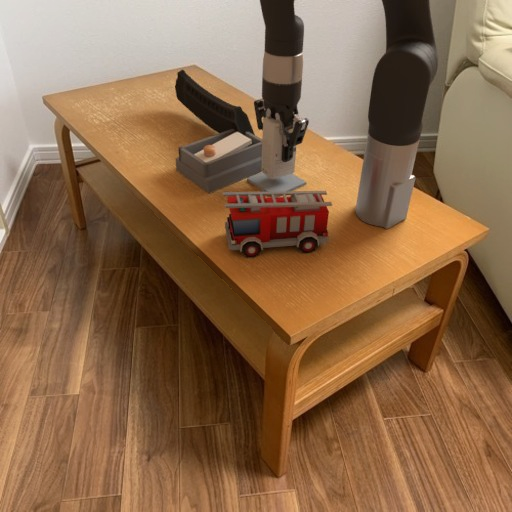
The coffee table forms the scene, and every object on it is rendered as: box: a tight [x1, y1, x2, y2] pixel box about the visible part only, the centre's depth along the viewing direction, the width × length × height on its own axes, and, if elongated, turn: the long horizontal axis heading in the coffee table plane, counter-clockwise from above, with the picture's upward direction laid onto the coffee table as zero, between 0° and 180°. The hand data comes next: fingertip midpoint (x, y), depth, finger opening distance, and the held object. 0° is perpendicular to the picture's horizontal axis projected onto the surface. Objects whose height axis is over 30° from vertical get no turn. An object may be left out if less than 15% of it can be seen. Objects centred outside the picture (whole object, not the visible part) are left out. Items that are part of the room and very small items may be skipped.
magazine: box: [174, 69, 256, 136], centre depth 132 cm, size 17×3×30 cm
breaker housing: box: [174, 129, 262, 194], centre depth 121 cm, size 17×12×6 cm
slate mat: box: [246, 172, 307, 198], centre depth 118 cm, size 9×9×1 cm
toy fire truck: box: [222, 190, 333, 259], centre depth 99 cm, size 9×19×10 cm, turn 99°
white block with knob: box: [194, 132, 252, 162], centre depth 119 cm, size 12×5×2 cm, turn 130°
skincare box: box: [261, 117, 297, 179], centre depth 113 cm, size 6×4×12 cm
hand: (278, 155), depth 114 cm, fingers closed on skincare box, 4 cm apart
